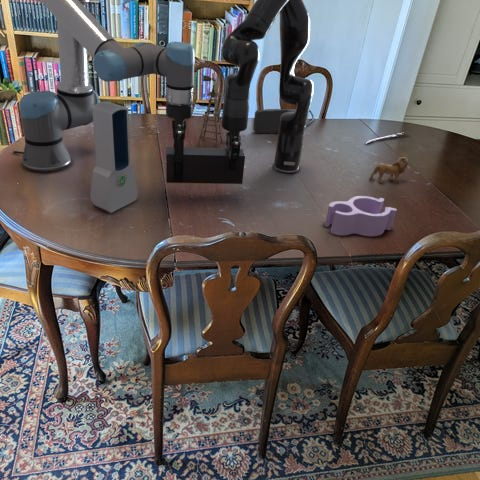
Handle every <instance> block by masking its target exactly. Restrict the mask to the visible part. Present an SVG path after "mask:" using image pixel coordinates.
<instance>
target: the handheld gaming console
mask: <svg viewBox="0 0 480 480" xmlns="http://www.w3.org/2000/svg"><path fill="white" fill-rule="evenodd" d="M296 109H297V108H265V109H256V111H255V112H254V117H253V118H254V119H253V126H252V127H253V128H252V129H253V131H254V133H256V134H278V133H279V125H280V118H281V115H282V114H284V113H286V112H294V111H296Z"/></svg>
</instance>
